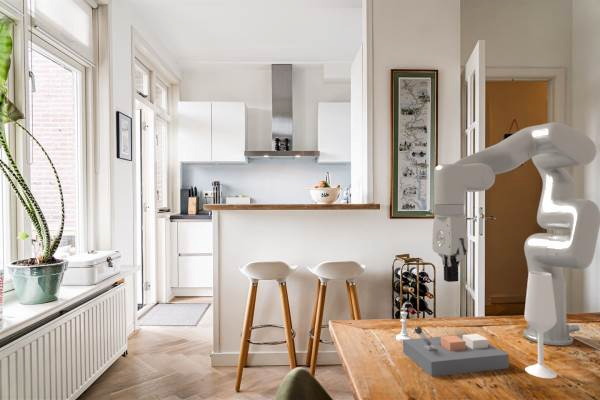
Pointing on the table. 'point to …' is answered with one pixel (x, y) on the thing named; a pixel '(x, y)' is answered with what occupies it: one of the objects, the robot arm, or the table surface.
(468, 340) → the button white
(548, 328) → the champagne flute
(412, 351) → the panel
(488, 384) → the table surface
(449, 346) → the button terracotta
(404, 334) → the chess piece
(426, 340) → the toggle lever
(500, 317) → the table surface
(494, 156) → the robot arm
